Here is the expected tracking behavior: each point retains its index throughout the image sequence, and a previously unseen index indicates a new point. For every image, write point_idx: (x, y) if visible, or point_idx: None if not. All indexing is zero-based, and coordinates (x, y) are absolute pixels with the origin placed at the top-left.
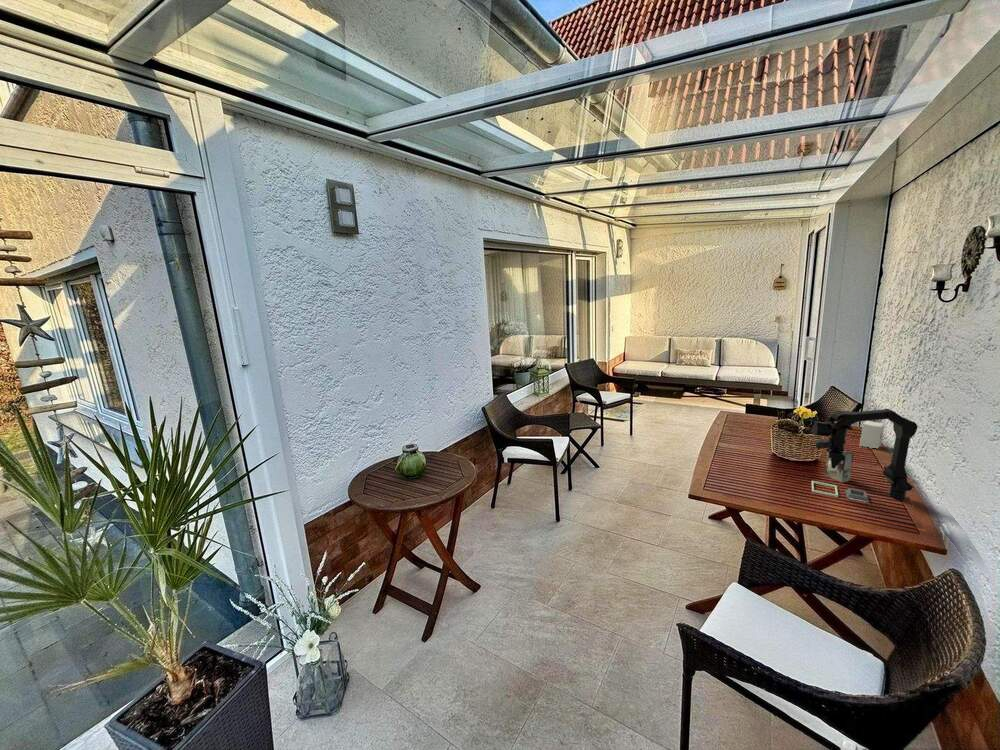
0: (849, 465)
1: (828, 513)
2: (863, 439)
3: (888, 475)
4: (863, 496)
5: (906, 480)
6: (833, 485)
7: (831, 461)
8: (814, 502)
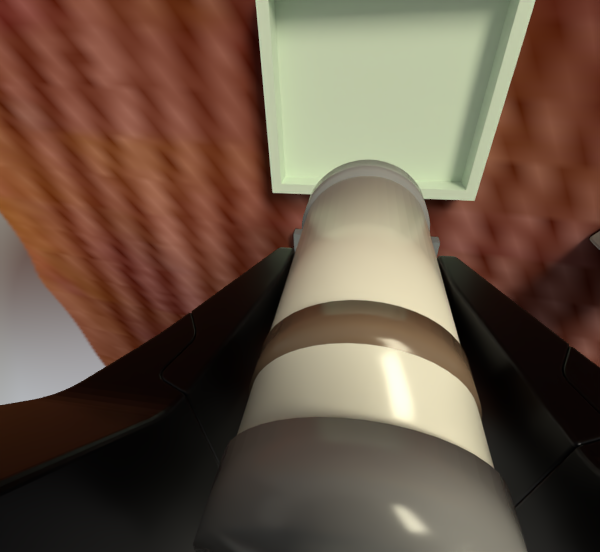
0: None
1: (19, 112)
2: None
3: None
4: None
5: None
6: (469, 179)
7: (170, 330)
8: (98, 16)
